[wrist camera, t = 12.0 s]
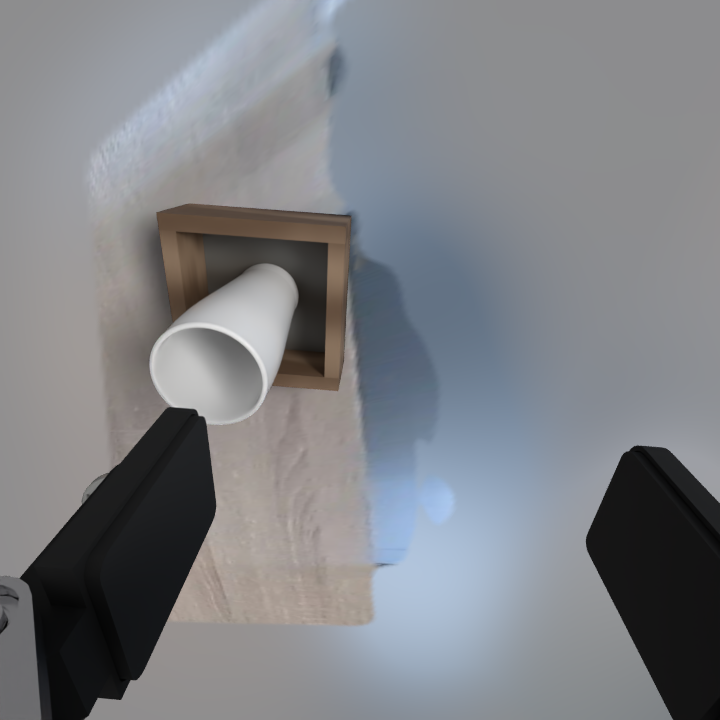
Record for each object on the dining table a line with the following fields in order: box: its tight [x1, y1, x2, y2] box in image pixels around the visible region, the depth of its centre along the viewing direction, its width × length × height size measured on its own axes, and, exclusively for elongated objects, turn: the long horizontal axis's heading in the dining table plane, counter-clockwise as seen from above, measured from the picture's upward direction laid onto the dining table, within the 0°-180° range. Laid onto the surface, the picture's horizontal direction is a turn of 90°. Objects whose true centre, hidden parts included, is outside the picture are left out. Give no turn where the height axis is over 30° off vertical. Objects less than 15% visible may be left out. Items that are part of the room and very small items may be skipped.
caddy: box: [156, 204, 351, 391], centre depth 35 cm, size 13×13×6 cm
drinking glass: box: [149, 263, 299, 425], centre depth 30 cm, size 7×7×15 cm
